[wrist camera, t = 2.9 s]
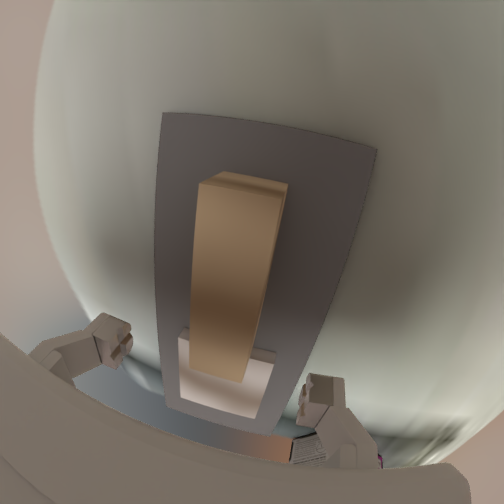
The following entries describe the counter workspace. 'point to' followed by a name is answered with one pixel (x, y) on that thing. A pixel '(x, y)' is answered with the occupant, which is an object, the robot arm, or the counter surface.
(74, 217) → the counter surface
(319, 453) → the candy bar box
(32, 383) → the robot arm
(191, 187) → the mat
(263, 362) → the wooden handled scraper
